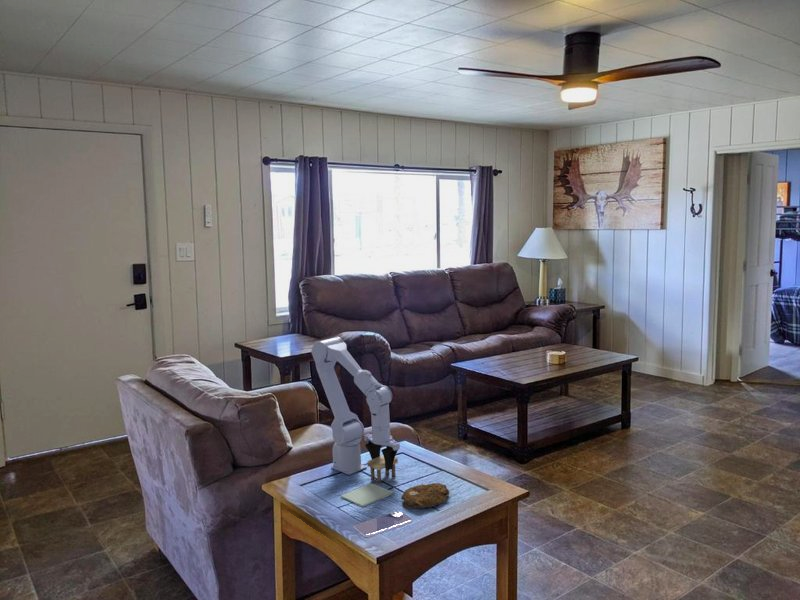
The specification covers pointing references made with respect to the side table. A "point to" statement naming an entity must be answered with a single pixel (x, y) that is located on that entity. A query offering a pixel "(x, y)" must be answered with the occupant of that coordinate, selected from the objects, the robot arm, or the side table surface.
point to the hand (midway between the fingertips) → (382, 466)
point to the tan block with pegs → (380, 467)
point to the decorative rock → (425, 495)
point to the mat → (367, 494)
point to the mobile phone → (382, 524)
